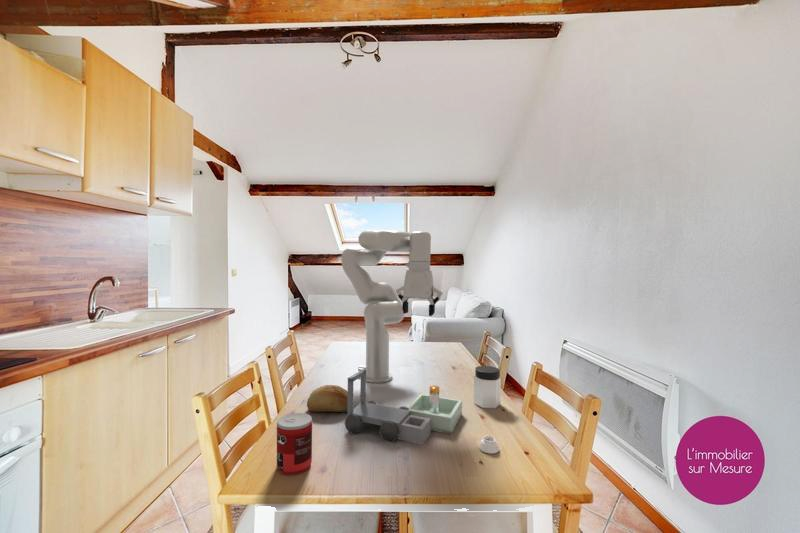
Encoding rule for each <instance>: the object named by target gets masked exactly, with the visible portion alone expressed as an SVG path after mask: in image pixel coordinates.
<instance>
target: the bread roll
mask: <svg viewBox="0 0 800 533" xmlns="http://www.w3.org/2000/svg"><path fill="white" fill-rule="evenodd" d="M347 403H348V390H346V389H345V388H343V387H342V386H340V385H335V384H325V385H322V386H320V387H318V388H316V389H314V390H312V392H311V393H310V395H309V396H308V398H307V401H306V407H307V410H309V411H310V412H320V413H322V412H323V413H324V412H329V413H331V412H333V413H334V412H335V413H337V412H338V413H341V412H347Z"/></svg>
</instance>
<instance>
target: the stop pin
mask: <svg viewBox="0 0 800 533" xmlns="http://www.w3.org/2000/svg"><path fill="white" fill-rule="evenodd" d="M429 395H430V401H429V413H434V414H439V397H440V386H439V385H430V386H429Z"/></svg>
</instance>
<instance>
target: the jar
mask: <svg viewBox="0 0 800 533" xmlns="http://www.w3.org/2000/svg"><path fill="white" fill-rule="evenodd" d="M474 370H475V371H474V372H475V374H474V376H473V377H474V378H473V404H475V405H477V406H479V407H480V408H482V409H497V408H498V407H499V406H500V405H501V388H502V387H501V382H502V380H501V379H502V378H501V371H500V369H499V368H498V367H495V366H491V365H480V366H479V365H478V366H476V367H475V368H474Z"/></svg>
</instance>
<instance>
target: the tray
mask: <svg viewBox="0 0 800 533" xmlns="http://www.w3.org/2000/svg"><path fill="white" fill-rule="evenodd" d="M429 401H430V394H426V393H420V394H419V395H418V396H417V397H416V398H415V399H414V400H413V401H412V402H411V403H410V404H409V405H408V406H406V407H407V408H409V410H411V415H415V416H420V417H425V418H430V419H431V431H433V432H434V431H435V432H439V433H444V434H448V435H452V433H453V431H454V430H455V428H456V426H457V424H458V422H459V420H460V418H461V417H462V414H463V400H461V399H457V398H451V397H450V398H449V397H444V396H439V414H434V413H429Z"/></svg>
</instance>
